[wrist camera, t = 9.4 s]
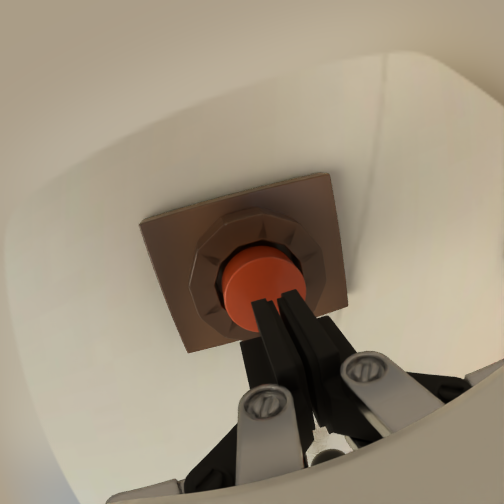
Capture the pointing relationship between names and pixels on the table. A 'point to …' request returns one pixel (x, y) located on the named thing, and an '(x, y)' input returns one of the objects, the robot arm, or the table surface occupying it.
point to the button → (258, 282)
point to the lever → (326, 456)
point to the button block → (238, 239)
